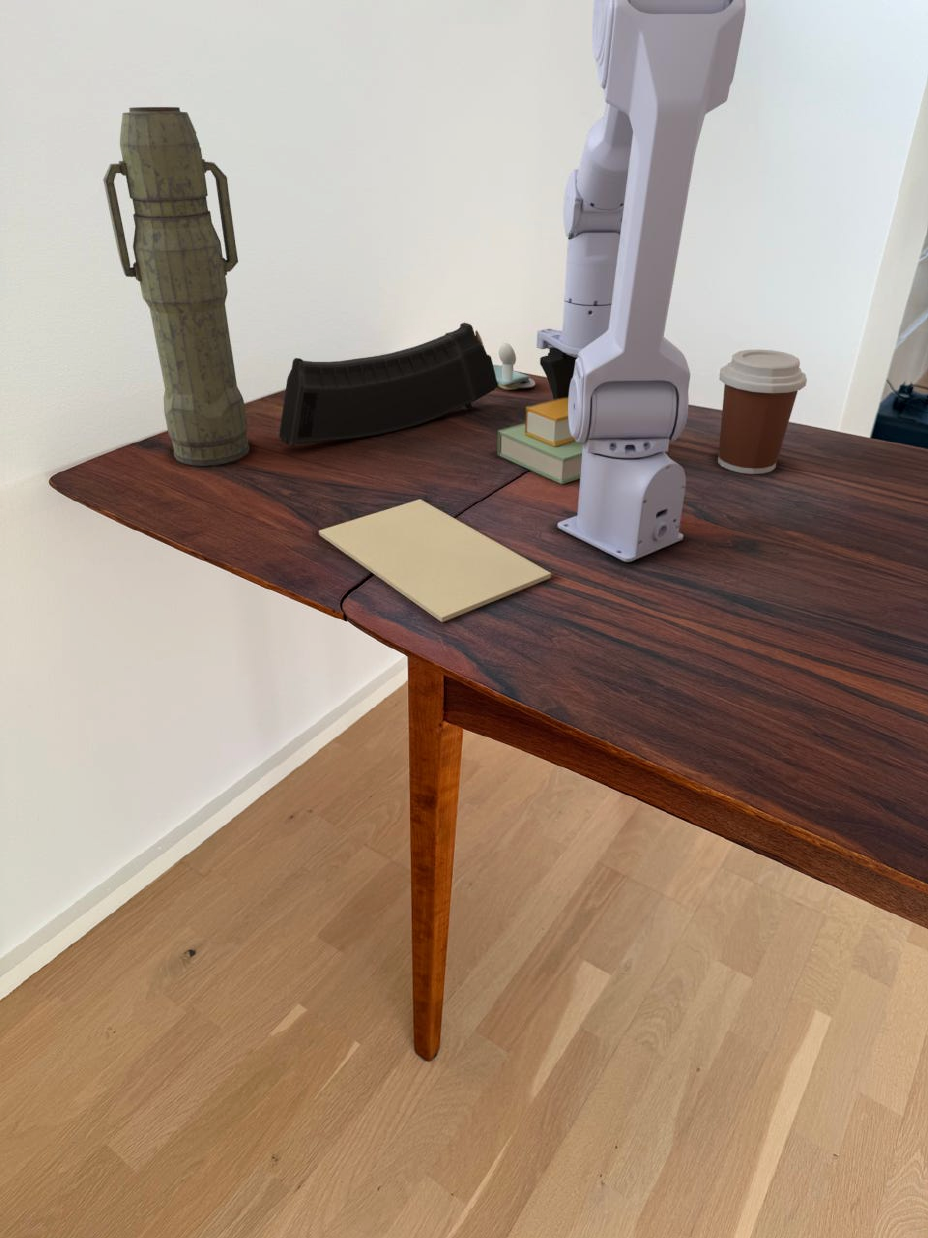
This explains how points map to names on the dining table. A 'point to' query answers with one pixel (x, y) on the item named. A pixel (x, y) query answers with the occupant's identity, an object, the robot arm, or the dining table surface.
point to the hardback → (541, 454)
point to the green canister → (182, 279)
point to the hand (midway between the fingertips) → (581, 423)
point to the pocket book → (549, 422)
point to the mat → (434, 558)
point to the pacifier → (510, 371)
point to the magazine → (385, 389)
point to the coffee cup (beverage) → (757, 408)
